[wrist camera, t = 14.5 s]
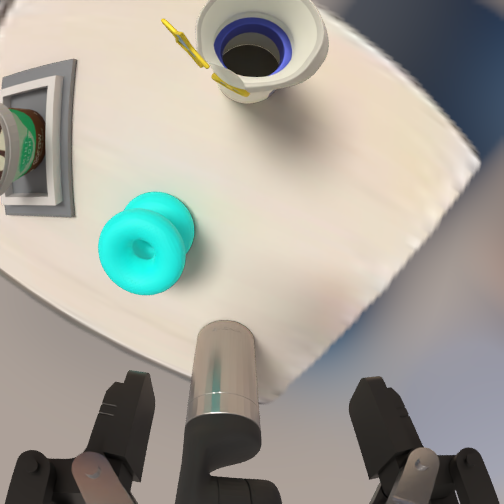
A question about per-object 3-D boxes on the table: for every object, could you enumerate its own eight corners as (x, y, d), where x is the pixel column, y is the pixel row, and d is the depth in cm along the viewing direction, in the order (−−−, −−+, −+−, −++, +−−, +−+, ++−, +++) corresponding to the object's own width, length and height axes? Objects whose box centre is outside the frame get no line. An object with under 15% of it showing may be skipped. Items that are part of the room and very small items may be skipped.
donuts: (122, 309, 32) (79, 234, 28) (143, 268, 41) (112, 206, 37) (198, 286, 31) (157, 198, 27) (207, 246, 40) (178, 177, 36)
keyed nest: (74, 214, 37) (64, 222, 34) (9, 212, 36) (-2, 219, 33) (76, 59, 28) (65, 56, 25) (6, 77, 27) (-6, 77, 24)
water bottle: (261, 120, 33) (308, 124, 11) (199, 86, 31) (123, 29, 9) (298, 67, 31) (400, -6, 8) (236, 32, 28) (234, -94, 6)
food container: (54, 183, 34) (11, 205, 25) (24, 182, 33) (-20, 203, 24) (58, 95, 29) (11, 95, 20) (26, 99, 28) (-21, 102, 19)
